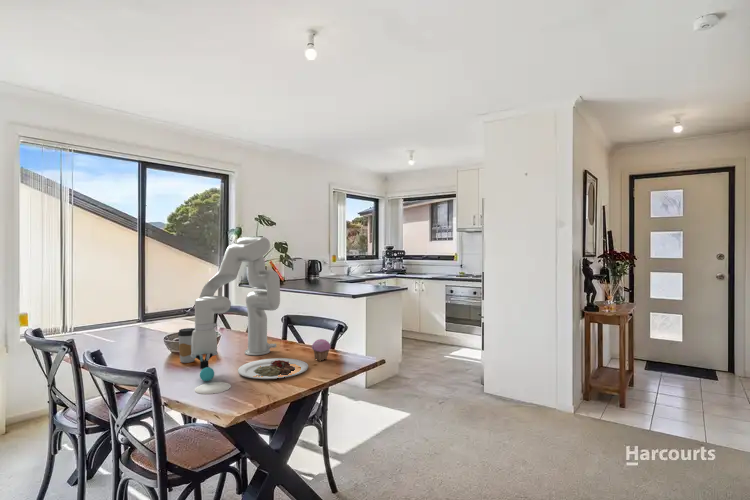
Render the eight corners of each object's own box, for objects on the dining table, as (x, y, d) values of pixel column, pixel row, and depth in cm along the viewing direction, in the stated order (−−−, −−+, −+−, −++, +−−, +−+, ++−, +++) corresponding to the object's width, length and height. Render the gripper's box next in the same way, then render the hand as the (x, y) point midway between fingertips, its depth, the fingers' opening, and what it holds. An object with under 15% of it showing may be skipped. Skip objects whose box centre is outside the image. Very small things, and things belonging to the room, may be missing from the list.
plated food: (236, 385, 166) (236, 376, 166) (239, 364, 195) (239, 357, 195) (312, 379, 174) (312, 371, 174) (304, 360, 203) (304, 353, 203)
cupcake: (322, 356, 208) (323, 336, 208) (334, 360, 202) (334, 339, 202) (308, 360, 202) (308, 339, 202) (319, 363, 196) (319, 342, 196)
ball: (214, 383, 169) (212, 375, 174) (215, 371, 168) (214, 364, 173) (199, 384, 167) (198, 377, 171) (201, 372, 165) (199, 365, 170)
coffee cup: (200, 359, 203) (200, 328, 203) (191, 363, 194) (191, 331, 194) (184, 358, 204) (184, 327, 203) (174, 363, 195) (174, 331, 195)
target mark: (227, 380, 170) (227, 380, 170) (234, 390, 159) (234, 389, 159) (192, 386, 164) (192, 385, 164) (197, 396, 152) (197, 395, 152)
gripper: (220, 324, 187) (220, 365, 187) (184, 327, 180) (184, 370, 180) (224, 327, 181) (224, 369, 181) (186, 330, 173) (186, 374, 173)
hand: (204, 369), depth 180 cm, fingers closed
